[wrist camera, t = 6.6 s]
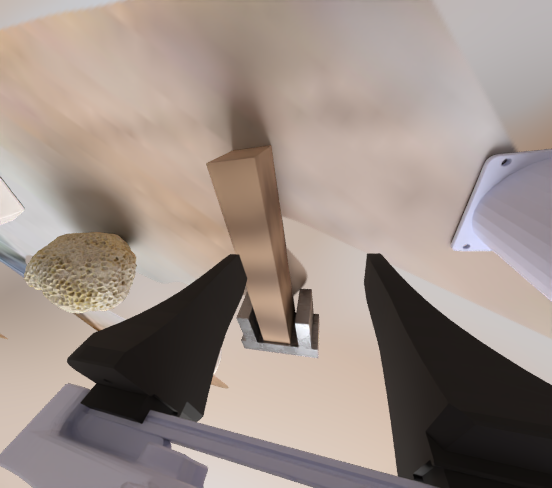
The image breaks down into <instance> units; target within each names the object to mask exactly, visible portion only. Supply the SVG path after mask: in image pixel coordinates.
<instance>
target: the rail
mask: <svg viewBox="0 0 552 488" xmlns="http://www.w3.org/2000/svg"><path fill="white" fill-rule="evenodd" d="M206 165H207V168H208V171H209V174H210V177H211V180H212V183H213V186H214V189H215V192H216V195H217V198H218V202H219V205H220V208H221V211H222V214H223V217H224V220H225V223H226V226H227V229H228V232H229V235H230V238H231V241H232V244H233V248H234V251H235V254H239V255H240V258H241V261H242V264H243V267H244V270H245V273H246V276H247V283H246V287H247V290H248V294H249V297H250V300H251V303H252V306H253V309H254V312H255V315H256V318H257V321H258V324H259V327H260V330H261V333H262V336H263V340H264V341H270V342H278V343H286V344H290V343H291V336H292V329H293V323H294V316H295V305H294V298H293V294H292V287H291V280H290V273H289V266H288V259H287V252H286V242H285V234H284V227H283V220H282V216H281V210H280V203H279V196H278V189H277V182H276V175H275V168H274V162H273V155H272V148H271V145H270V146H263V147H256V148H248V149H241V150H233V151H231V152H229V153H227V154H225V155H223V156H220V157H218V158H216V159H214V160H212V161H210V162H208V163H206Z"/></svg>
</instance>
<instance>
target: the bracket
mask: <svg viewBox="0 0 552 488" xmlns="http://www.w3.org/2000/svg"><path fill="white" fill-rule="evenodd" d="M237 320H238V323H239V325H240V327H241V330H242V332H243V337H242V339H241V341H242V343H243V345H244V348H247V349H254V350H262V351H269V352H276V353H283V354H291V355H299V356H305V357H313V358H318V351H319V314H313V301H312V290H311V289H300V292H299V300H298V306H297V313H296V312H295V316H294V323H293V329H292V336H291V343H290V344H286V343H278V342H270V341H264V340H263V336H262V333H261V330H260V327H259V324H258V321H257V318H256V315H255V312H254V309H253V306H252V303H251V300H250V297H249V294H248V291H247V294H246V296H245V299H244V301H243V303H242V306H241V308H240V310H239V313H238V315H237Z"/></svg>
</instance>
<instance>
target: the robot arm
mask: <svg viewBox="0 0 552 488" xmlns="http://www.w3.org/2000/svg"><path fill="white" fill-rule="evenodd" d="M505 159H507V162H506V163H504V164H503V165H501V163H502V162H503V161H504V160H505ZM466 244H467V245H466ZM464 245H466V246H464ZM463 246H464V247H463ZM451 248H452V249H453V250H454V251H494V252H495V253H496V254H497V255H498V256H499V257H501V258H502V259H503V260H504V261H505V262H506V263H508V264H509V265H510V266H511V267H512V268H513V269H514V270H516V271H517V272H518V273H519V274H520V275H521V276H523V277H524V278H525V279H526V280H527V281H528V282H529V283H531V284H532V285H533V286H534V287H535V288H536V289H538V290H539V291H540V292H541V293H542V294H543V295H544V296H546V297H547V298H548V299H549V300H550V301H551V302H552V149H545V150H536V151H525V152H516V153H506V154H497V155H493V156H491V157H489V158H488V159H487V160H486V162H485V164H484V166H483V168H482V171H481V173H480V176H479V178H478V180H477V183H476V185H475V188H474V190H473V192H472V195H471V197H470V200H469V202H468V204H467V207H466V209H465V212H464V214H463V216H462V219H461V221H460V224H459V226H458V228H457V231H456V233H455V236H454V238H453V241H452V243H451ZM246 283H247V276H246V273H245V270H244V267H243V264H242V261H241V258H240V255H239V254H230V255H229V256H227V257H226V258H225V259H223V260H222V261H221V262H219V263H218V264H217V265H215V266H214V267H213V268H212V269H210V270H209V271H208V272H206V273H205V274H204V275H203V276H201V277H200V278H199V279H197V280H196V281H194V282H193V283H192V284H190V285H189V286H187V287H186V288H184V289H183V290H181V291H180V292H178V293H177V294H175V295H173V296H172V297H170V298H169V299H167V300H165V301H163V302H161V303H160V304H158V305H156V306H154V307H152V308H150V309H148V310H146V311H144V312H142V313H140V314H138V315H136V316H134V317H132V318H130V319H127V320H125V321H123V322H120V323H118V324H115V325H113V326H110V327H108V328H105V329H103V330H100V331H98V332H95V333H93V334H92V335H91V336H90V337H89V338H88V339H87V340H86V341H85V342H84V343H83V344H82V345H81V346H80V347H78V348H77V349H76V350H75V351H74V352H73V354H71V355H70V356H69V357H68V359H67V363H68V364H69V365H70V366H71V367H72V368H73V369H75V370H76V371H78V372H79V373H81V374H82V375H84V376H86V377H88V378H89V379H90V380H92V381H93V382H95V383H96V385H95V386H94V387H93V388H92V389H91V390H90V389H87V388H85V387H81V386H77V385H73V384H70V383H68V384H65V386H64V387H63V388H62V389H61V390H60V391H59V392H58V393H57V394H56V395H55V396H54V397H53V398H52V399H51V400H50V402H49V403H48V404H47V405H46V406H45V407H44V408H43V409H42V410H41V411H40V413H38V414H37V415H36V416H35V418H34V419H33V420H32V421H31V422H30V423H29V424H28V425H27V426H26V427H25V428H24V429H23V430H22V432H21V433H20V434H19V435H18V436H17V437H16V438H15V439H14V440H13V441H12V442H11V443H10V444H9V445H8V446H7V447H6V448H5V450H4V451H3V452H2V453H1V454H0V466H1V467H3V468H5V469H7V470H9V471H11V472H12V473H14V474H16V475H17V476H19V477H20V478H21V479H23V480H24V481H25V482H27V483H28V484H29V485H30V486H31V487H33V488H203V484H204V480H205V477H206V474H207V471H208V468H207V466H205V465H203V464H201V463H199V462H197V461H195V460H193V459H191V458H189V457H188V456H186V455H185V454H182V453H180V452H177V451H174V450H172V449H171V443H174V444H177V445H181V446H184V447H187V448H190V449H193V450H196V451H200V452H203V453H206V454H209V455H212V456H215V457H218V458H222V459H225V460H228V461H231V462H235V463H237V464H241V465H244V466H247V467H250V468H253V469H256V470H260V471H263V472H266V473H269V474H272V475H275V476H279V477H282V478H285V479H288V480H291V481H294V482H298V483H301V484H304V485H307V486H310V487H313V488H552V385H550V384H549V383H547V382H545V381H543V380H542V379H540V378H538V377H537V376H535V375H533V374H531V373H530V372H528V371H526V370H524V369H523V368H521V367H520V366H518V365H517V364H515V363H513V362H512V361H510V360H509V359H507V358H505V357H504V356H502V355H501V354H499V353H497V352H496V351H494V350H493V349H491V348H490V347H488V346H487V345H485V344H483V343H482V342H481V341H479V340H477V339H476V338H475V337H473V336H472V335H470V334H469V333H468V332H466V331H465V330H463V329H462V328H460V327H459V326H458V325H456V324H455V323H454V322H452V321H451V320H450V319H448V318H447V317H446V316H445V315H443V314H442V313H441V312H440V311H438V310H437V309H436V308H435V307H433V306H432V305H431V304H430V303H429V302H428V301H426V300H425V299H424V298H423V297H422V296H421V295H420V294H419V293H417V292H416V291H415V290H414V289H413V288H412V287H411V286H410V285H409V284H408V283H407V282H406V281H405V280H404V279H403V278H402V277H401V276H400V275H399V274H398V273H397V271H396V270H395V269H394V268H393V267H392V266H391V265H390V264H389V263H388V261H387V260H386V259H385V258H384V257H383V256H382V255H381V254H367V260H366V269H365V279H364V286H365V293H366V299H367V304H368V308H369V311H370V315H371V319H372V322H373V326H374V330H375V334H376V337H377V341H378V345H379V350H380V355H381V361H382V367H383V372H384V379H385V386H386V391H387V399H388V405H389V412H390V419H391V427H392V434H393V442H394V449H395V458H396V466H397V473H398V476H394V475H390V474H387V473H383V472H379V471H375V470H372V469H368V468H364V467H361V466H357V465H353V464H350V463H346V462H342V461H338V460H335V459H331V458H327V457H323V456H319V455H316V454H312V453H309V452H305V451H301V450H298V449H294V448H290V447H286V446H282V445H279V444H275V443H271V442H267V441H264V440H260V439H256V438H253V437H249V436H245V435H242V434H238V433H234V432H231V431H227V430H223V429H219V428H216V427H212V426H208V425H204V424H201V423H197V421H199V420H200V419H201V418H202V417H203V415H204V410H205V405H206V402H207V397H208V393H209V389H210V385H211V381H212V377H213V374H214V370H215V366H216V363H217V360H218V356H219V353H220V350H221V347H222V344H223V341H224V338H225V335H226V332H227V329H228V327H229V325H230V322H231V320H232V318H233V315H234V313H235V311H236V309H237V307H238V305H239V302H240V300H241V298H242V295H243V293H244V290H245V286H246ZM170 442H171V443H170Z"/></svg>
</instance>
